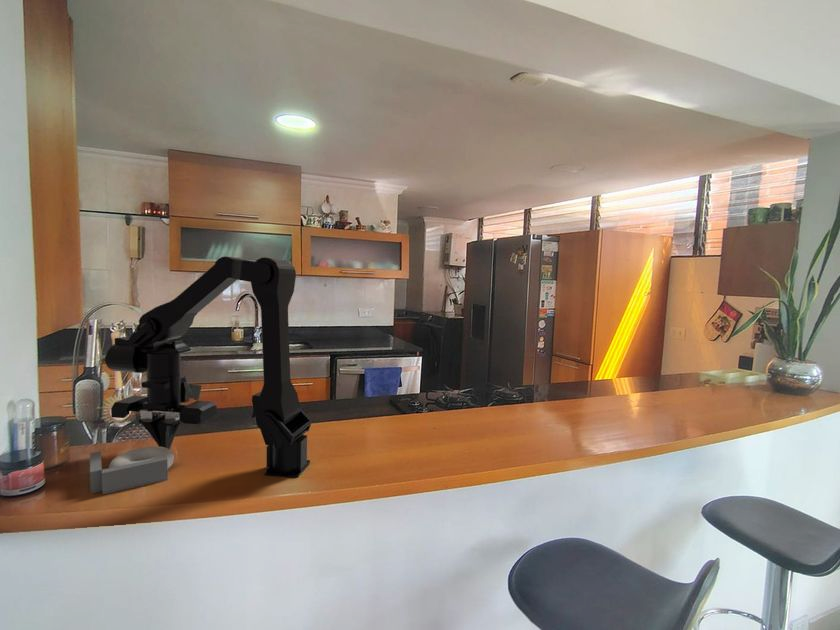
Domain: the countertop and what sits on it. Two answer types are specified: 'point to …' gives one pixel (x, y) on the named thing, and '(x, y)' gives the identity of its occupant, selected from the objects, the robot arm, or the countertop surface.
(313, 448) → the countertop surface
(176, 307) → the robot arm
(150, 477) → the grey l-shaped bracket
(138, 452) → the donut
